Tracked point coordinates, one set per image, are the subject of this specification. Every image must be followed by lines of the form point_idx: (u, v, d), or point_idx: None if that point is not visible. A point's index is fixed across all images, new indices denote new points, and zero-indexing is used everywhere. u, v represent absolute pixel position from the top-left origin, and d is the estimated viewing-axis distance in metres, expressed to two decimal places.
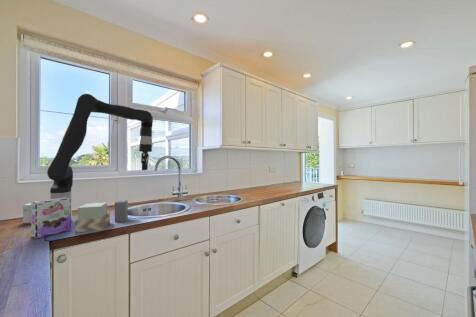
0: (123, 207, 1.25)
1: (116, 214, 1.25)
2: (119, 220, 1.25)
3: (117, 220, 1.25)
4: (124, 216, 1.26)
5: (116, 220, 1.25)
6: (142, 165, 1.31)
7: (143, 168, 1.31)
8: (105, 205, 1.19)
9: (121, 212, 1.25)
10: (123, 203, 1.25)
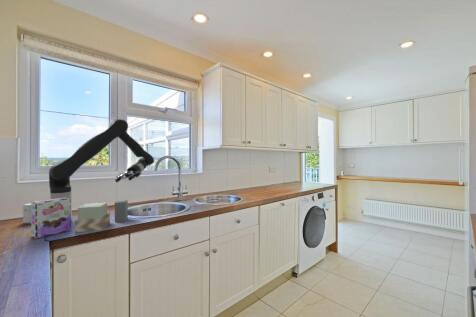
0: (123, 207, 1.25)
1: (116, 214, 1.25)
2: (119, 220, 1.25)
3: (117, 220, 1.25)
4: (124, 216, 1.26)
5: (116, 220, 1.25)
6: (131, 175, 1.36)
7: (131, 177, 1.34)
8: (105, 205, 1.19)
9: (121, 212, 1.25)
10: (123, 203, 1.25)
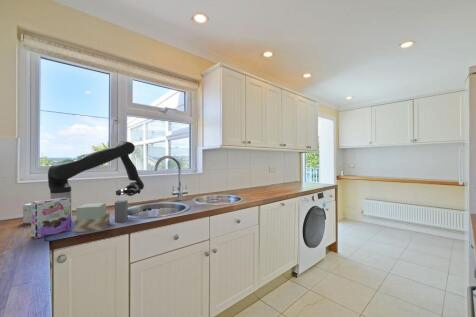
0: (123, 207, 1.25)
1: (116, 214, 1.24)
2: (119, 220, 1.25)
3: (117, 220, 1.25)
4: (124, 216, 1.26)
5: (116, 220, 1.25)
6: (135, 191, 1.43)
7: (135, 192, 1.41)
8: (104, 205, 1.18)
9: (121, 212, 1.25)
10: (123, 203, 1.25)
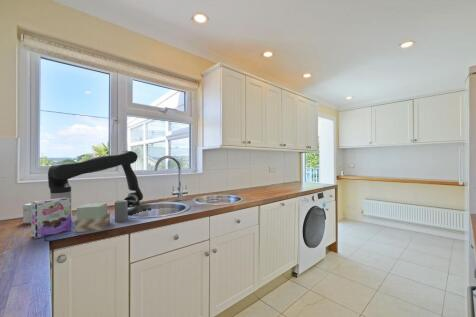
0: (123, 207, 1.25)
1: (116, 214, 1.25)
2: (119, 220, 1.25)
3: (117, 220, 1.25)
4: (124, 216, 1.26)
5: (116, 220, 1.25)
6: (134, 202, 1.41)
7: (134, 204, 1.39)
8: (105, 205, 1.19)
9: (121, 212, 1.25)
10: (123, 203, 1.25)
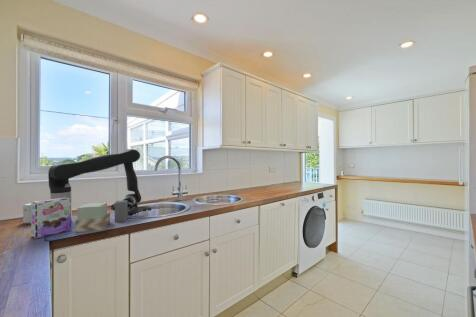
0: (123, 207, 1.25)
1: (116, 214, 1.25)
2: (119, 220, 1.25)
3: (117, 220, 1.25)
4: (124, 216, 1.26)
5: (116, 220, 1.25)
6: (131, 205, 1.33)
7: (132, 207, 1.32)
8: (105, 205, 1.19)
9: (121, 212, 1.25)
10: (123, 203, 1.25)
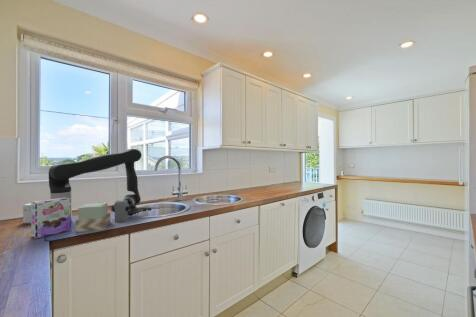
0: (123, 207, 1.25)
1: (116, 214, 1.24)
2: (119, 220, 1.25)
3: (117, 220, 1.25)
4: (124, 216, 1.26)
5: (116, 220, 1.24)
6: (127, 207, 1.29)
7: (128, 208, 1.27)
8: (106, 205, 1.19)
9: (121, 212, 1.25)
10: (123, 203, 1.25)
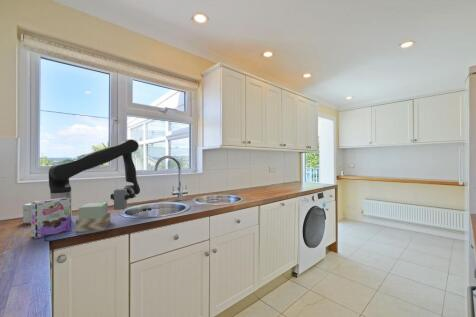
0: (122, 195, 1.25)
1: (115, 202, 1.24)
2: (118, 208, 1.25)
3: (116, 208, 1.24)
4: (123, 204, 1.25)
5: (115, 208, 1.24)
6: (127, 195, 1.29)
7: (127, 197, 1.27)
8: (106, 205, 1.19)
9: (120, 200, 1.25)
10: (122, 191, 1.25)
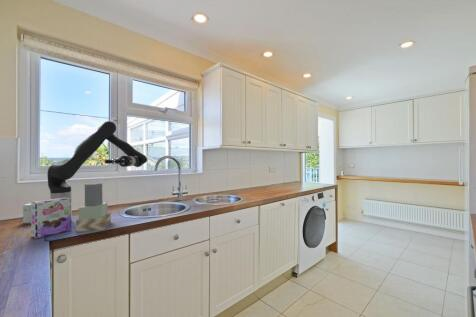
0: (93, 190, 1.13)
1: (86, 197, 1.13)
2: (89, 204, 1.13)
3: (87, 204, 1.13)
4: (94, 200, 1.13)
5: (86, 204, 1.13)
6: (121, 160, 1.39)
7: (120, 161, 1.37)
8: (106, 205, 1.19)
9: (90, 196, 1.13)
10: (93, 186, 1.13)
